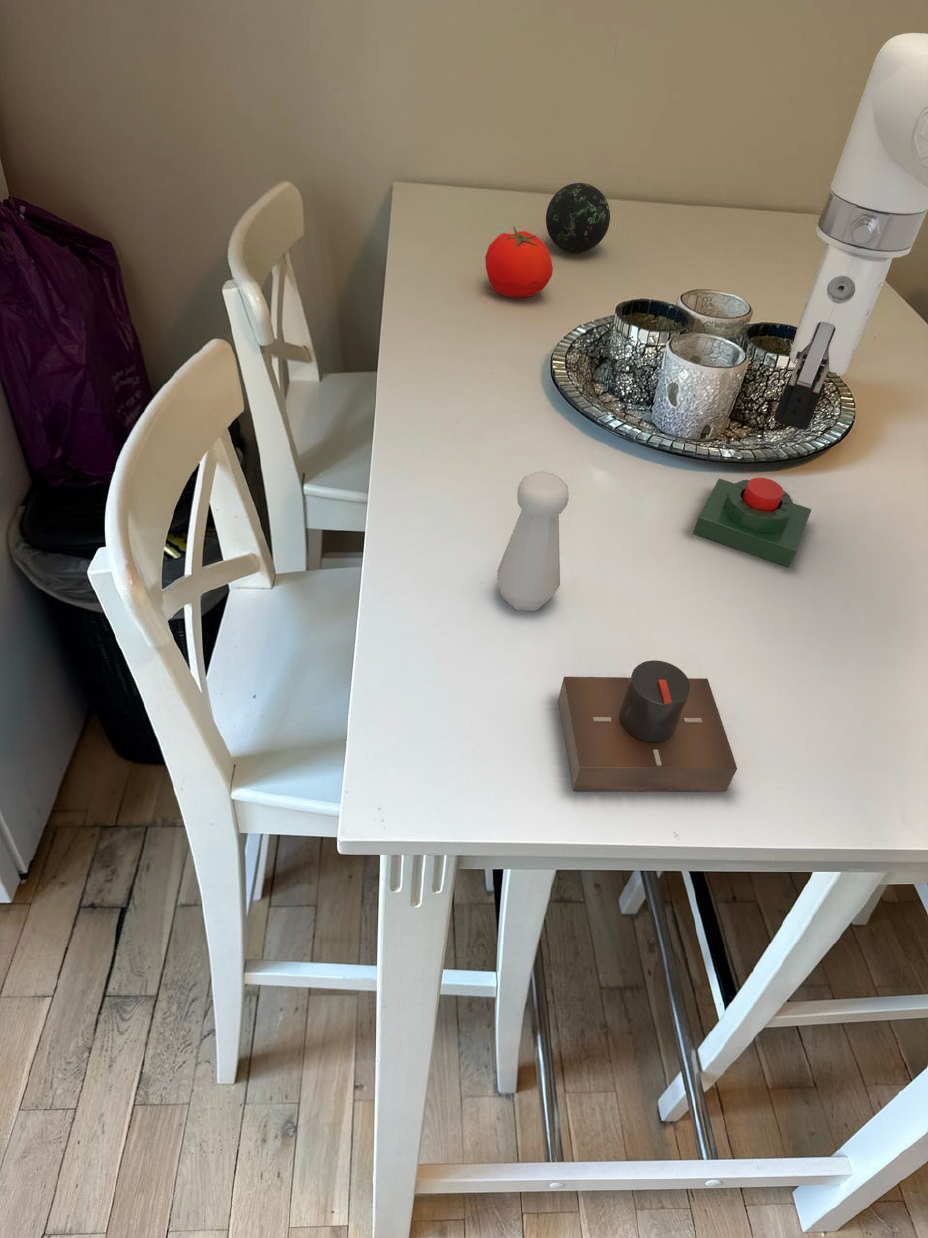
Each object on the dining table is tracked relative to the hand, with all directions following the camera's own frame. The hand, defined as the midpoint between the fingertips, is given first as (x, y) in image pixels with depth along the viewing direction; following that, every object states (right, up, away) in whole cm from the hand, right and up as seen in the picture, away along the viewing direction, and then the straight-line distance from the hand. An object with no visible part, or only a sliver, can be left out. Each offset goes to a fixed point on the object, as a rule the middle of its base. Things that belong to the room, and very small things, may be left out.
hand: (791, 420), depth 83 cm
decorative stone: (-13, +40, +59) cm, 73 cm away
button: (-1, -7, +7) cm, 10 cm away
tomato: (-23, +29, +46) cm, 59 cm away
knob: (-17, -27, -15) cm, 35 cm away
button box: (-1, -9, +9) cm, 13 cm away
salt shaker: (-25, -17, -1) cm, 30 cm away
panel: (-17, -29, -12) cm, 36 cm away
